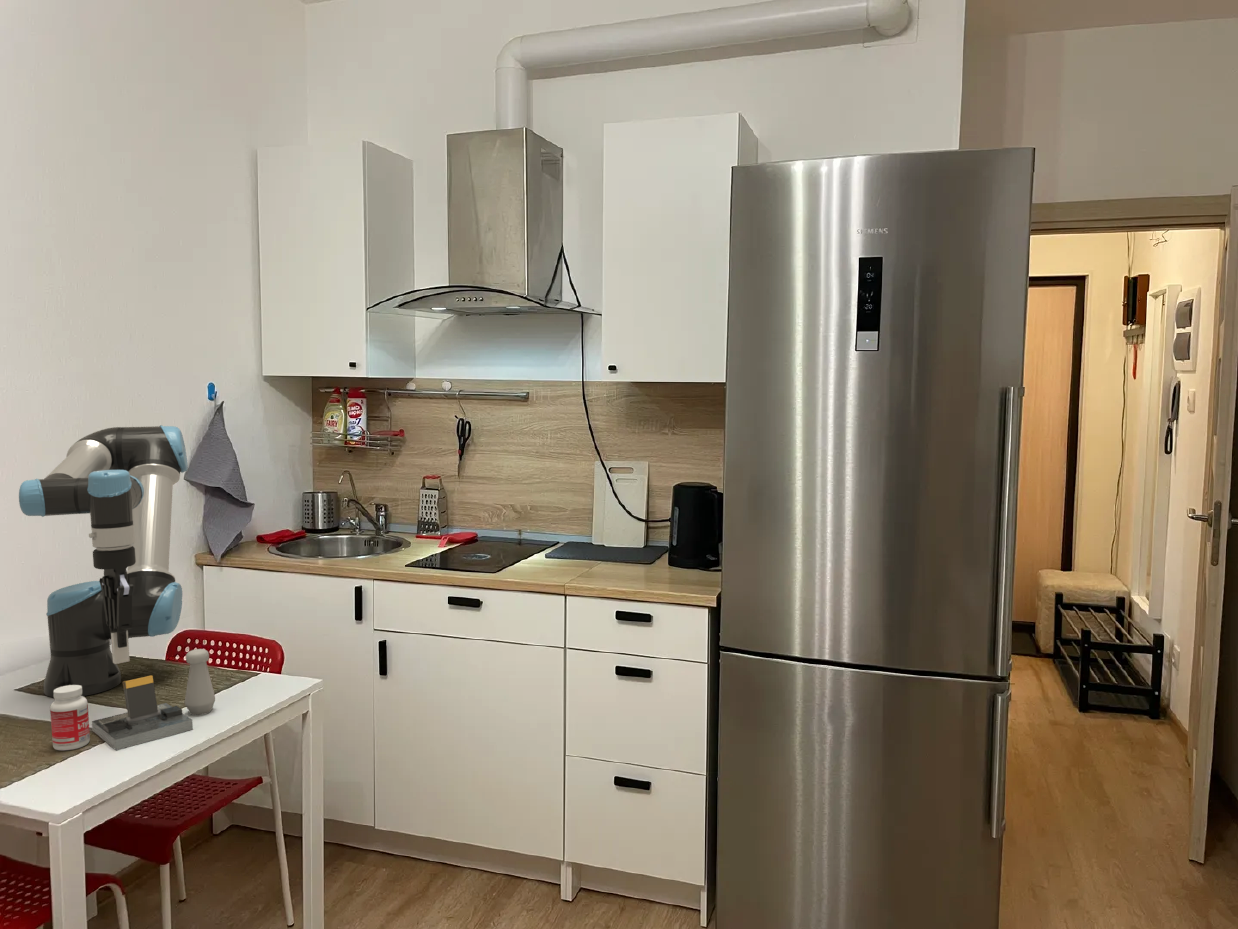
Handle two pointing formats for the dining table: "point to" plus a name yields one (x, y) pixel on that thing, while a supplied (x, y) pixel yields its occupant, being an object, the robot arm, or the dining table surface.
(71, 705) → the pill bottle
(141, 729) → the panel
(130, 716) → the paddle
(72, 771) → the dining table surface
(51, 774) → the dining table surface
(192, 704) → the salt shaker
